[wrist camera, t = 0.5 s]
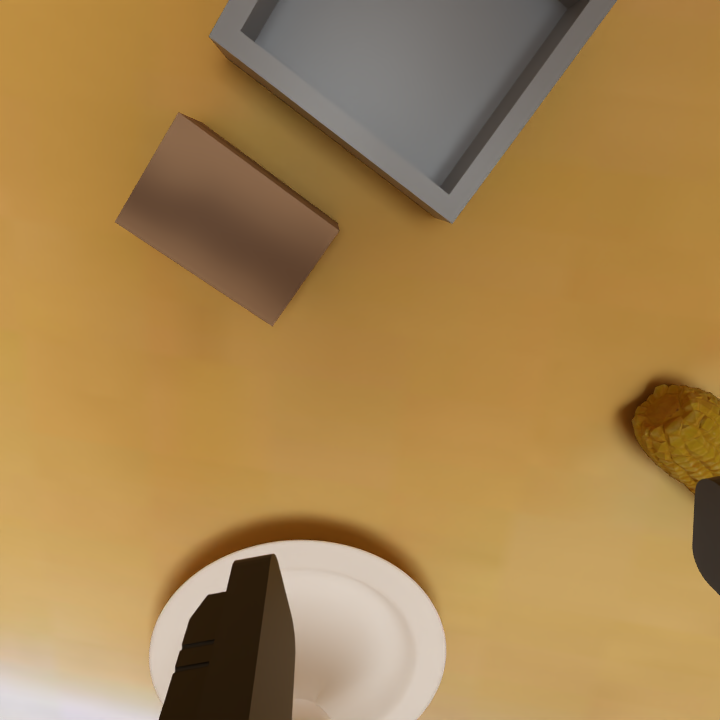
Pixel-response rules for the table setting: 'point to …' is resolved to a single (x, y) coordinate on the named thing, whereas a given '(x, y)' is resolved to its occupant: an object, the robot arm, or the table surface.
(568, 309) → the table surface
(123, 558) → the table surface
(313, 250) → the walnut block
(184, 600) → the candlestick
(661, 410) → the food
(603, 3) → the tray
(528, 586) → the table surface
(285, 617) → the robot arm
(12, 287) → the table surface
